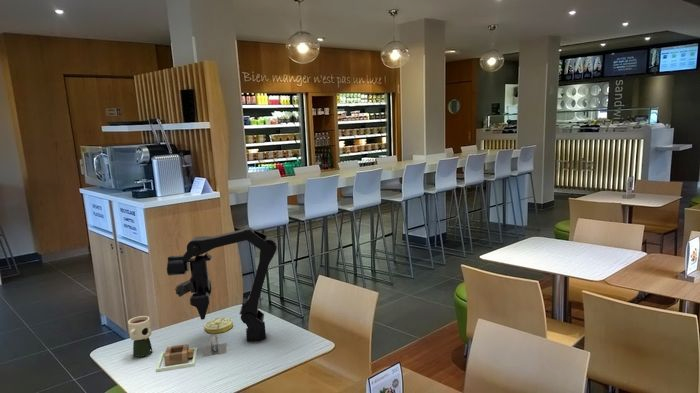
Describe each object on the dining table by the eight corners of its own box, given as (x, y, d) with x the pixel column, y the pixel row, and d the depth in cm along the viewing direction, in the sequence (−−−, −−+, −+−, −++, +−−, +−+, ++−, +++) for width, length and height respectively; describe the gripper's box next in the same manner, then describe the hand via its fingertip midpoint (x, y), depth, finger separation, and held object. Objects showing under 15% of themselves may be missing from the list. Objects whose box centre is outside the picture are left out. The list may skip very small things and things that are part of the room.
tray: (197, 351, 168) (197, 347, 167) (194, 368, 156) (194, 363, 156) (161, 357, 165) (161, 352, 165) (156, 374, 153) (155, 369, 153)
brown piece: (168, 357, 163) (167, 347, 162) (194, 353, 165) (192, 343, 164) (165, 367, 156) (164, 356, 156) (192, 363, 158) (191, 352, 158)
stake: (226, 345, 172) (225, 330, 171) (226, 355, 164) (224, 339, 163) (203, 348, 170) (202, 333, 169) (202, 358, 162) (200, 342, 161)
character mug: (144, 361, 162) (140, 326, 161) (125, 361, 163) (120, 326, 161) (160, 347, 173) (156, 313, 171) (141, 347, 174) (137, 313, 172)
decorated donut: (219, 323, 193) (218, 314, 192) (238, 327, 187) (237, 318, 186) (199, 333, 184) (198, 323, 183) (218, 338, 178) (217, 328, 178)
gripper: (178, 268, 175) (183, 308, 177) (172, 283, 157) (177, 328, 160) (209, 264, 178) (213, 304, 180) (206, 279, 160) (211, 323, 162)
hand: (203, 314), depth 170 cm, fingers open, 9 cm apart
